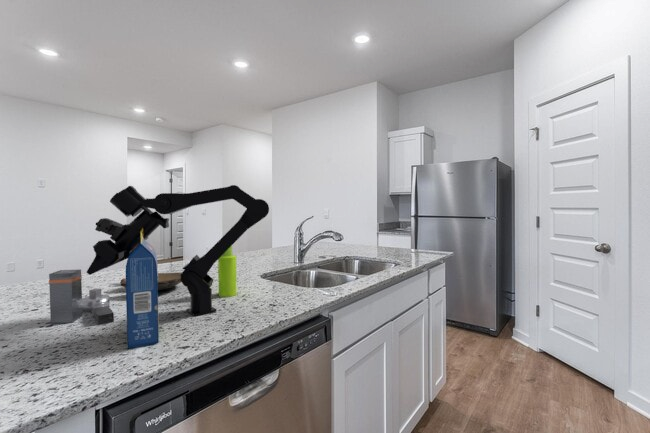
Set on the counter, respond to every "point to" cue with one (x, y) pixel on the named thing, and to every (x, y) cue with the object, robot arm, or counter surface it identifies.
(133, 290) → the blue food package
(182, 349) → the counter surface
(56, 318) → the grey orange-striped post
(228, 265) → the soap dispenser
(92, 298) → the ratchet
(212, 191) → the robot arm
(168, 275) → the notched wooden ornament
